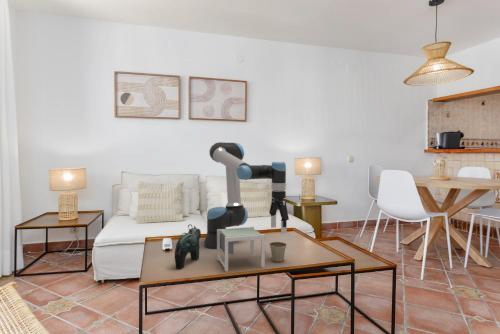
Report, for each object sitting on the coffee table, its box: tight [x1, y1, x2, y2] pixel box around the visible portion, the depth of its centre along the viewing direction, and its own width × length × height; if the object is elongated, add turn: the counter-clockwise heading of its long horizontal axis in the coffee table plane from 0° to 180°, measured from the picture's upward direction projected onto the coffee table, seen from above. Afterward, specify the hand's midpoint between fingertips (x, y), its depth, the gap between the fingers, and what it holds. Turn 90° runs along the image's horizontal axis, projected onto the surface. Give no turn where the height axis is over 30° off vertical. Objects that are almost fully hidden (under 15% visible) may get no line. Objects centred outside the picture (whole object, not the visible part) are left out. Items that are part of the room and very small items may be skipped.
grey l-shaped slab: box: [220, 227, 261, 255], centre depth 164 cm, size 18×14×9 cm
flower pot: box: [268, 241, 288, 263], centre depth 170 cm, size 9×9×9 cm
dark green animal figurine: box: [174, 223, 202, 270], centre depth 164 cm, size 20×6×20 cm, turn 159°
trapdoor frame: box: [216, 226, 266, 272], centre depth 164 cm, size 20×18×16 cm
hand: (278, 230), depth 169 cm, fingers open, 13 cm apart
